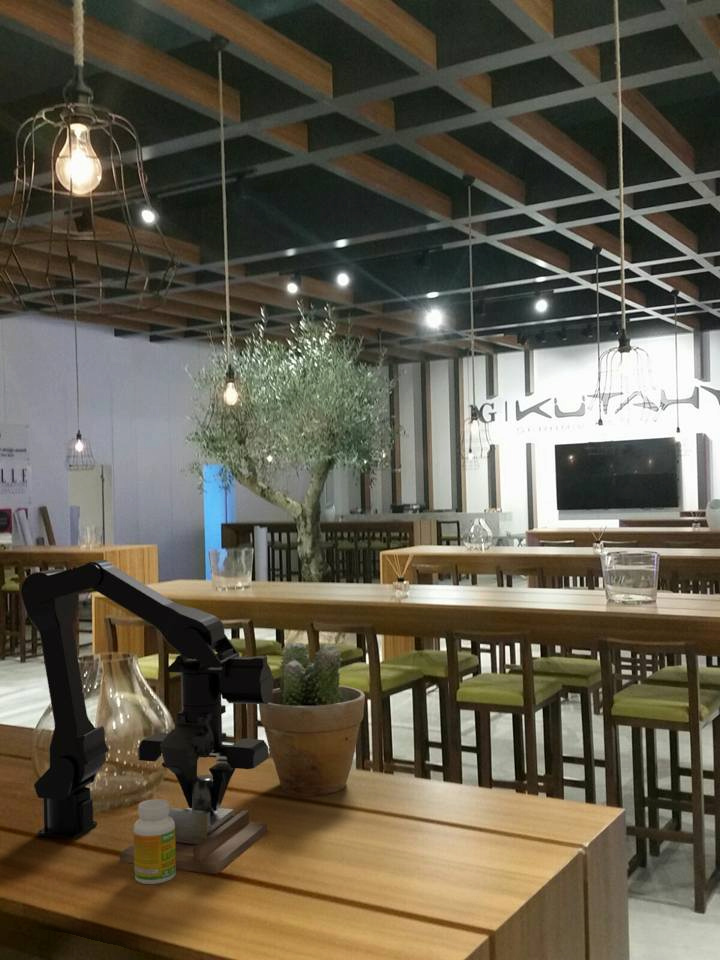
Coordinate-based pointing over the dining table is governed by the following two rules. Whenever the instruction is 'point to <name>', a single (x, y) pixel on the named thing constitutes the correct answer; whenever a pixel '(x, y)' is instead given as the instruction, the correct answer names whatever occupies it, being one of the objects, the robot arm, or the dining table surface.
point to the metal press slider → (199, 813)
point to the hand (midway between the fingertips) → (204, 808)
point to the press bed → (214, 846)
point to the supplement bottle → (154, 843)
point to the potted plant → (312, 722)
